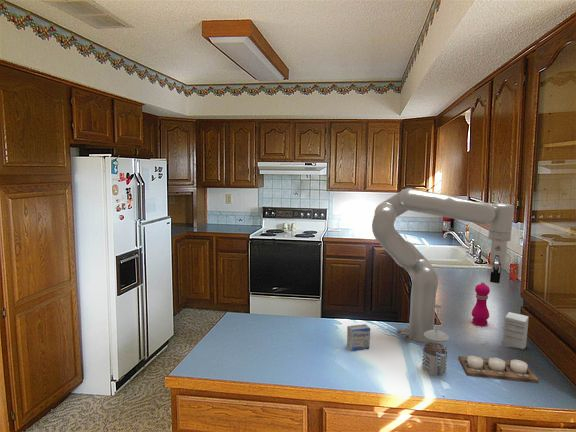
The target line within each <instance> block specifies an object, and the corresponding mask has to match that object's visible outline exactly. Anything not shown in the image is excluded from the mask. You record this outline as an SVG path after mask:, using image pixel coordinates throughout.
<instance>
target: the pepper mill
mask: <svg viewBox="0 0 576 432" xmlns="http://www.w3.org/2000/svg"><path fill="white" fill-rule="evenodd" d="M474 290H475V293H476V294H475V298H476V301H475V305H474V307H473V308H472V310H471V316H472V318H471V319H472V320H471V323H472V324H473V325H475V326H476V327H477V326H478V327H486V326H488V322H489V321H488V320H489V318H490V311H489V309H488V306H487V300H488V299H489V294H490V292H491V289H490V287H489V285H487V284H486V281H485V280H481V281H480V283H478V284H477V285H476V286H475V288H474Z"/></svg>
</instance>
